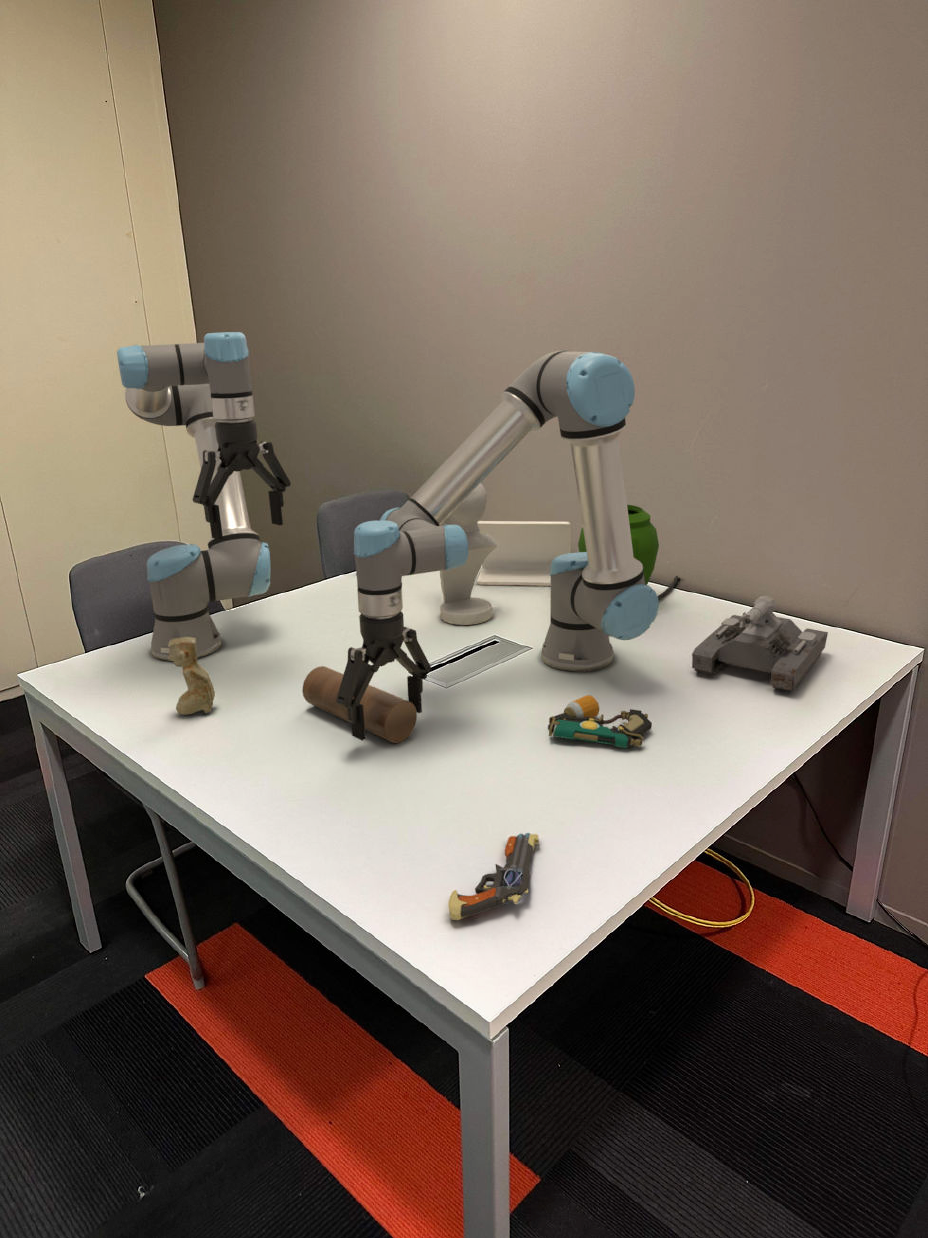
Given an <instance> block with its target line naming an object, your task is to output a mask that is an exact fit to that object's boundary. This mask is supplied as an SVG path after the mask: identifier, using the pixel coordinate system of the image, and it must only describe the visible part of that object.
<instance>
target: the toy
mask: <svg viewBox="0 0 928 1238" xmlns="http://www.w3.org/2000/svg"><path fill="white" fill-rule="evenodd" d="M775 609H776V602H775V600H774V599H773V598H772V597H770V596H768V595H761V596H759V597H757V598H756V599H755V600H754V603H753V607H752V608H750V610H749V611H748V612H747V613H746V611H744V612H743V613H742V615H737V614H732V615H731V616H730V617H726V618H725V619H724V620H722V621H721V625H720V626H719V627H718V628H716V629H715V630H714V631H713V632H712V633H711V634H710V635H708V636H707V637H706V638H705V639H704V640H702V641H701V642H700V643H699V644H698V645H697V646H696V647H695V648H694V649H693V651H692V653H691V657H692V658H691V659H692V660H691V661H692V662H691V669H694V672H696V673H699V674H701V673H702V674H705V675H710V676H714V675H716V673H718V671H719V670H720V669H722V667H723V666H725V664H727V665H729V666H734V667H740V668H745V669H749V670H754V671H758V672H762V673H767V674H770V681H769V682H770V683H769V686H770V687H772V688H773V689H777V690H784V691H788V692H793V691H794V690H795V689H796V688H797V686H799V684H800V682H801V681H802V680H803V679H804V677H805V676H806V675H807V674H808V672H809V671H810V670H811V669H812V668H813V666H814V665H815V664H816V662H817V661H818V660H819V658H820V657H821V655H822V653H823V651H824V650H825V649H826V643H827V639H828V635H829V632H828V631H823V630H819V629H814V628H813V629H812V628H808V627H807V628H805V629H804V630H803V631H802V630H801V629H800V627H799V626H797V624H796V623H795V622H794V621H793V620H792V619H790V618H786V617H781V616H777V615H775V613H774V612H775Z"/></svg>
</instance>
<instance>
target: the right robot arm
mask: <svg viewBox="0 0 928 1238" xmlns="http://www.w3.org/2000/svg"><path fill="white" fill-rule="evenodd" d="M635 388H636V387H635V382H634V378H633V375H632V373H631V371H630V370H629V368H628V367H627V366H626V364H625V363H624V362H622V361H621V360H620V359H618V358H617V357H615V356H612V355H611V354H606V353H603V352H599V351H573V350H572V351H571V350H565V349H562V350H561V349H560V350H555V351H552V352H549V353H547V354H545V355H543V356H541V357H540V358H538V359H537V360H535V361H534V362H533V363H532V364H530V366H528V367H527V368H526V369H524V371H523V372H521V373H520V374H519V375H518V377H516V378H515V379H514V380H513V381H512V382H511V383H510V385H508V387H507V388H505V390H503V392H502V393H501V394H500V399H501V401H500V403H499V404H498V405H497V406H496V407H495V408H494V409H493V411H491V413H489V414H488V415H487V417H485V419H484V420H483V421H482V422H481V423H480V424H479V425H478V426H477V427H476V428H475V430H473V431H472V433H470V435H469V436H467V438H466V439H465V440H464V441H463V442H462V443H461V444H460V445H459V446H458V447H457V449H455V450H454V451H453V452H452V454H451V455H450V456H449V457H448V458H447V459H446V460H445V461H444V462H443V463H442V464H441V465H440V466H439V467H438V468H437V469H436V470H435V472H433V474H432V475H430V477H429V478H428V479H427V480H426V481H425V482H424V483H423V484H422V485H421V486H420V487H419V489H417V490H416V491H415V493H414V494H413V495H412V496H410V498H409V499H408V500H407V501H406V502H405V503H404V504H403V505H402V506H401V507H393V508H391V509H388V510H386V511H385V512H384V513H383V515H382V516H381V517H380V519H379V520H369V521H365V522H361V523H359V524H358V525H357V526H356V527H355V529H354V533H353V555H354V564H355V573H356V584H357V585H356V587H357V606H358V607H357V608H358V612H359V613H360V614H359V616H358V619H359V632H360V636H361V637H362V646H361V647H357V648H355V647H352V646H351V647H349V648H348V650H347V662H346V665H345V669H344V672H343V674H344V675H343V678H342V682H341V685H340V688H339V692H338V695H337V699H336V702H337V703H338V704H340V705H342V706H344V707H347V716H348V721H349V722H348V721H347V722H348V723H350V722H351V723H350V728H351V736H352V737H353V738H356V739H358V740H360V741H364V740H366V730H365V726H364V712H363V705H362V704H359V703H360V701H361V699H362V697H363V695H364V693H365V691H366V689H367V687H368V685H370V683H371V680H372V679H373V677H374V675H375V674H376V673H377V672H379V669H380V667H384V666H386V664H389V663H393V662H395V661H397V662H398V663H399V664H400V665H401V666H402V667H403V668H404V669H405V671H407V672H408V673H409V674H410V675H409V676H407V677H406V679H407V680H406V681H407V683H406V684H407V701H409V702H411V703H412V704H413V705H414V706H415V708H416V711H417V714H421V713H422V712H423V706H422V705H423V703H422V694H423V691H424V682H423V680H427V677H428V674H427V673H430V672H431V670H432V666H431V664H430V662H429V660H428V659H427V656H426V655H425V652H424V651H423V648H422V646H421V645H420V642H419V641H418V636H417V631H416V629H413V628H410V627H406V626H405V620H404V618H405V617H404V613H403V608H404V605H403V583H402V580H403V579H402V577H407V576H413V575H420V574H427V573H432V572H433V573H435V572H440V571H441V570H448V569H452V568H456V567H460V566H462V565H464V564H465V562H466V561H467V558H468V550H469V549H468V540H467V537H466V534H465V532H464V530H463V529H462V528H461V527H460V526H459V525H446V524H444V525H442V526H440V525H441V524H442V523H443V522H444V521H445V520H446V519H447V518H448V517H449V516H450V515H451V514H452V512H453V511H454V510H455V509H456V508H457V507H458V506H459V505H460V504H461V503H462V502H463V501H464V500H465V499H466V498H467V497H468V496H469V495H470V494H471V493H472V491H473V490H474V489H475V488H476V487H477V486H478V485H479V484H480V483H481V484H482V482H483V481H485V480H486V478H487V477H488V476H489V475H490V474H491V473H492V472H493V470H495V468H496V467H497V466H498V465H500V463H501V462H502V461H503V460H504V459H505V458H506V457H507V456H508V455H509V454H510V453H511V452H512V451H513V450H514V449H515V448H516V446H518V444H519V443H520V442H521V441H523V439H524V438H525V437H526V436H527V435H528V434H529V433H530V432H538V431H539V430H540V429H541V428H542V427H543V426H544V425H545V424H546V423H547V422H549V421H550V420H552V419H554V418H557V420H558V421H557V422H558V427H559V433H560V438H561V439H563V440H564V441H565V442H566V443H568V444H569V445H570V449H571V455H572V463H573V468H574V469H573V470H574V476H575V483H576V489H577V490H576V491H577V497H578V503H579V509H580V516H581V522H582V523H581V524H582V527H583V530H584V537H585V544H586V551H587V552H579V551H578V552H570V553H569V554H564V555H560V556H558V557H556V558H555V559H554V560H553V561H552V563H551V572H550V576H551V586H550V618H549V619H550V620H549V621H550V623H549V627H548V629H547V632H546V636H545V639H544V642H543V644H542V647H541V659H542V661H543V663H545V664H546V665H548V666H549V667H552V668H553V669H557V670H561V671H567V672H579V673H580V672H581V673H582V672H583V673H584V672H591V671H597V670H602V669H604V668H606V667H607V666H610V665H611V664H612V662H613V660H614V647H613V646H612V643H611V642H610V641H611V640H610V637H613V638H615V639H616V640H619V641H620V640H621V641H631V640H634V639H636V638H638V637H640V636H642V635H643V634H645V633H646V632H647V631H648V630H649V629H650V628H651V625H652V623H654V622H655V619H656V618H657V615H658V613H659V608H660V606H659V605H660V602H659V600H661V599H662V598H664V597H665V596H666V595H668V594H669V593H670V592H671V591H672V590H673V589H674V587H675V586H676V584H677V583H678V581H681V577H680V578H678V576H679V575H676V576H675V577H674V579H673V580H672V583H670V585H669V586H668V587H667V588H666V589H665V590H664V591H663V592H661V593H660V594H657V592H656V591H655V590H654V589H653V588H652V587H651V586H650V585H648V584H647V585H645V580H644V572H643V565H642V563H641V562H640V561H638V560H637V559H635V558H634V557H633V549H632V541H631V533H630V525H629V517H628V508H627V505H628V502H627V492H626V485H625V478H624V469H623V462H622V460H623V459H622V455H621V454H622V453H621V444H620V435H621V433H622V432H623V431H624V430H625V429H626V427H627V422H626V417H627V416H628V415H629V413H630V411H631V409H630V408H631V406H633V404H634V401H635V393H636V389H635ZM403 643H404V645H405V647H406V649H407V650H408V653H409V654H410V656H411V658H412V659H411V658H410V657H409V656H408V654H407V652H405V651H404V650H403V649H402V646H403ZM369 662H370V663H371V664H370V663H369ZM353 697H354V699H353Z"/></svg>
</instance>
